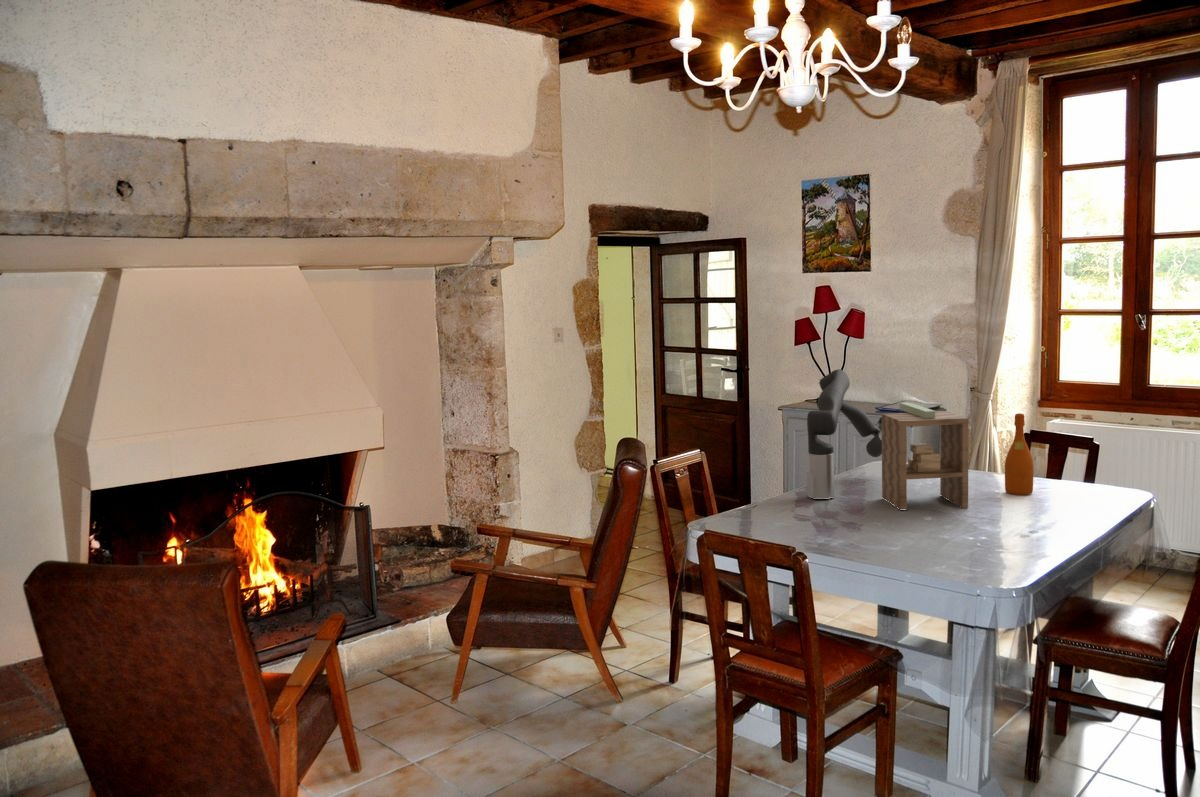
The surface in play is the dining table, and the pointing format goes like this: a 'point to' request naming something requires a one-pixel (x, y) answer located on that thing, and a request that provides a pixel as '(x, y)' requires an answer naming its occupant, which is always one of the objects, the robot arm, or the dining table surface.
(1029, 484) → the wine bottle
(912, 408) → the slat
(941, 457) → the rack
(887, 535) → the dining table surface
